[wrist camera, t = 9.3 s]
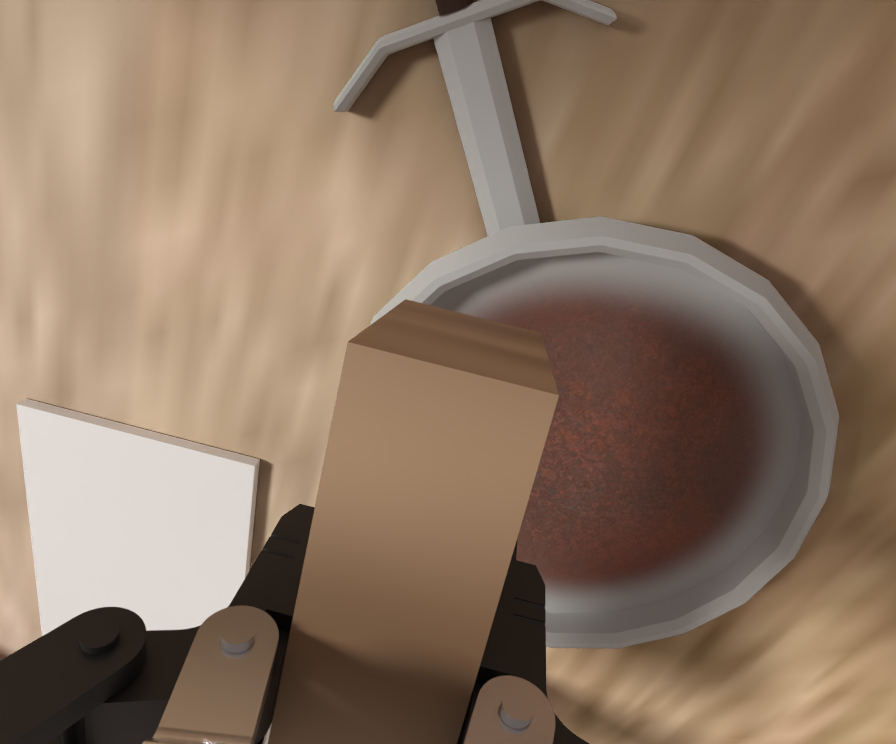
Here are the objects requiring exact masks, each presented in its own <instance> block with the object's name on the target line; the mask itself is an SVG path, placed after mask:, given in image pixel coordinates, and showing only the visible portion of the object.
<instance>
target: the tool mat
mask: <svg viewBox="0 0 896 744" xmlns="http://www.w3.org/2000/svg"><path fill="white" fill-rule="evenodd" d="M16 405H17V414H18V423H19V432H20V441H21V450H22V459H23V468H24V477H25V486H26V495H27V504H28V513H29V522H30V531H31V540H32V549H33V558H34V567H35V577H36V586H37V595H38V604H39V613H40V622H41V631H42V636H44V635H45V634H47V633H49V632H50V631H52V630H54V629H55V628H57V627H59V626H61V625H62V624H64V623H66V622H67V621H69V620H71V619H72V618H74V617H76V616H78V615H80V614H82V613H84V612H87V611H89V610H93V609H96V608H102V607H121V608H125V609H129V610H131V611H133V612H135V613H136V614H137V615H139V616H140V617H141V619H142V620H143V622H144V624H145V627H146V631H150V630H180V629H189V628H194V627H197V626H200V625H202V623H203V622H204V621H205V620H206V619H207V618H208V617H209V616H211V615H212V614H214V613H215V612H217V611H219V610H222V609H225V608H227V607H228V606H229V604H230V603H231V601H232V600H233V598H234V596H235V595H236V593H237V591H238V590H239V588H240V586H241V585H242V583H243V581H244V579H245V578H246V576H247V574H248V573H249V570H250V560H251V549H252V538H253V528H254V517H255V506H256V496H257V485H258V474H259V464H260V459H257V458H253V457H249V456H245V455H242V454H238V453H234V452H230V451H226V450H222V449H218V448H215V447H211V446H207V445H203V444H199V443H195V442H192V441H188V440H184V439H180V438H176V437H172V436H168V435H165V434H161V433H157V432H153V431H149V430H145V429H142V428H138V427H134V426H130V425H126V424H122V423H118V422H115V421H111V420H107V419H103V418H99V417H95V416H92V415H88V414H84V413H80V412H76V411H72V410H68V409H65V408H61V407H57V406H53V405H49V404H45V403H42V402H38V401H34V400H30V399H26V398H25V399H24V400H22V401H21V402H19V403H17V404H16Z"/></svg>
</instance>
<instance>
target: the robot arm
mask: <svg viewBox="0 0 896 744" xmlns="http://www.w3.org/2000/svg"><path fill="white" fill-rule="evenodd" d="M314 509H315V508H314V507H310V506H306V505H302V504H299V505H298V506H296V507H295V508H293V509H292V510H290V511H289V512H288V513H286V514H285V515H283V516H282V517H281V519H280V520H279V522H278V524H277V526H276V527H275V529H274V531H273V532H272V535H271V537H269V539H268V541H267V542H266V544H265V546H264V547H263V551H261V553H260V554H259V556H258V558H257V559H256V561H255V563H254V564H253V566H252V568H251V569H250V571H249V573H248V574H247V576H246V578H245V579H244V581H243V583H242V585H241V586H240V588H239V590H238V591H237V593H236V595H235V596H234V598H233V600H232V601H231V603H230V604H229V606H228V607H227V608H225V609H222V610H219V611H217V612H215V613H214V614H212V615H211V616H209V617H208V618H207V619H206V620H205V621H204V622H203V623H202V625H200V626H197V627H194V628H189V629H180V630H150V631H146V627H145V624H144V622H143V620H142V619H141V617H140V616H139V615H137V614H136V613H135V612H133V611H131V610H129V609H125V608H121V607H102V608H96V609H93V610H89V611H87V612H84V613H82V614H80V615H78V616H76V617H74V618H72V619H71V620H69V621H67V622H66V623H64V624H62V625H61V626H59V627H57V628H55V629H54V630H52V631H50V632H49V633H47V634H45V635H44V636H42V637H40V638H38V639H37V640H35V641H33V642H32V643H30V644H28V645H27V646H25V647H23V648H21V649H20V650H18V651H16V652H15V653H13V654H11V655H10V656H8V657H6V658H4V659H3V660H1V661H0V744H265V741H266V735H267V732H268V730H269V728H270V726H271V723H272V720H273V715H274V710H275V705H276V700H277V695H278V690H279V685H280V680H281V675H282V670H283V665H284V660H285V655H286V649H287V644H288V639H289V634H290V629H291V624H292V619H293V614H294V609H295V604H296V599H297V594H298V589H299V584H300V579H301V574H302V569H303V564H304V559H305V554H306V549H307V544H308V539H309V534H310V529H311V524H312V519H313V514H314ZM516 556H517V541H516V544H515V548H514V551H513V554H512V558H511V561H510V565H509V568H508V571H507V575H506V578H505V582H504V585H503V589H502V592H501V595H500V599H499V602H498V606H497V609H496V612H495V616H494V619H493V623H492V626H491V630H490V633H489V636H488V640H487V643H486V647H485V650H484V653H483V657H482V660H481V664H480V667H479V670H478V674H477V677H476V681H475V684H474V688H473V691H472V694H471V698H470V701H469V705H468V708H467V711H466V715H465V718H464V722H463V725H462V729H461V732H460V735H459V739H458V742H457V744H589V743H588V742H586V741H584V740H583V739H581V738H579V737H578V736H576V735H575V734H573V733H572V732H571V731H570V730H569V729H567V728H566V727H565V726H564V725H563V724H562V722H561V721H560V720H559V719H558V717H557V716H556V715H555V713H554V711H553V708H552V706H551V704H550V702H549V700H548V697H547V692H546V626H545V622H546V609H545V605H546V603H545V583H544V581H543V579H542V577H541V575H540V573H539V571H538V569H537V567H536V565H533V564H529V563H525V562H521V561H517V560H516Z"/></svg>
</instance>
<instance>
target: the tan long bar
mask: <svg viewBox="0 0 896 744" xmlns="http://www.w3.org/2000/svg"><path fill="white" fill-rule="evenodd" d="M558 397H559V393H558V390H557V387H556V383H555V380H554V376H553V373H552V369H551V366H550V362H549V359H548V355H547V352H546V348H545V345H544V341H543V338H542V335H541V333H539V332H535V331H531V330H527V329H523V328H519V327H515V326H511V325H507V324H503V323H499V322H495V321H491V320H487V319H483V318H479V317H475V316H471V315H467V314H463V313H459V312H455V311H451V310H447V309H443V308H439V307H435V306H431V305H427V304H423V303H419V302H415V301H411V300H407V299H405V300H404V301H402V302H401V303H400V304H398V305H397V306H396V307H394V308H393V309H392V310H390V311H389V312H388V313H386V314H385V315H384V316H382V317H381V318H379V319H378V320H377V321H375V322H374V323H373V324H371V325H370V326H369V327H367V328H366V329H365V330H363V331H362V332H361V333H359V334H358V335H357V336H355V337H354V338H352V339H351V340H350V341H348V344H347V349H346V354H345V359H344V364H343V369H342V374H341V379H340V384H339V389H338V394H337V399H336V404H335V409H334V414H333V419H332V424H331V429H330V434H329V439H328V444H327V449H326V454H325V459H324V464H323V469H322V474H321V479H320V484H319V489H318V494H317V499H316V504H315V509H314V514H313V519H312V524H311V529H310V534H309V539H308V544H307V549H306V554H305V559H304V564H303V569H302V574H301V579H300V584H299V589H298V594H297V599H296V604H295V609H294V614H293V619H292V624H291V629H290V634H289V639H288V644H287V649H286V655H285V660H284V665H283V670H282V675H281V680H280V685H279V690H278V695H277V700H276V705H275V710H274V715H273V720H272V723H271V726H270V728H269V730H268V732H267V735H266V741H265V744H457V742H458V739H459V735H460V732H461V729H462V725H463V722H464V718H465V715H466V711H467V708H468V705H469V701H470V698H471V694H472V691H473V688H474V684H475V681H476V677H477V674H478V670H479V667H480V664H481V660H482V657H483V653H484V650H485V647H486V643H487V640H488V636H489V633H490V630H491V626H492V623H493V619H494V616H495V612H496V609H497V606H498V602H499V599H500V595H501V592H502V589H503V585H504V582H505V578H506V575H507V571H508V568H509V565H510V561H511V558H512V554H513V551H514V548H515V544H516V541H517V537H518V534H519V530H520V527H521V524H522V520H523V517H524V513H525V510H526V507H527V503H528V500H529V496H530V493H531V489H532V486H533V483H534V479H535V476H536V472H537V469H538V466H539V462H540V459H541V455H542V452H543V448H544V445H545V442H546V438H547V435H548V431H549V428H550V425H551V421H552V418H553V414H554V411H555V408H556V404H557V401H558Z"/></svg>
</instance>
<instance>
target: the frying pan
mask: <svg viewBox="0 0 896 744" xmlns="http://www.w3.org/2000/svg"><path fill="white" fill-rule="evenodd" d="M537 1H540V0H480V1H477V2H474V1H473V0H436V4H437V7H438V11H439V16H436V17H433V18H430V19H428V20H425V21H422V22H420V23H417V24H414V25H411V26H409V27H406V28H403V29H400V30H398V31H395V32H392V33H390V34H387V35H384V36H382V37H380V38H379V39H378V40H377V41H376V43H375V44H374V45H373V47H372V48H371V50H370V51H369V53H368V54H367V55H366V57H365V58H364V60H363V61H362V63H361V64H360V66H359V67H358V68H357V70H356V71H355V73H354V74H353V76H352V77H351V78H350V80H349V81H348V83H347V84H346V86H345V87H344V88H343V90H342V91H341V93H340V94H339V96H338V97H337V98H336V100H335V102H334V106H333V108H334V111H335V112H346V111H349V109H350V108H351V107H352V105H353V104H354V102H355V101H356V100H357V98H358V97H359V95H360V94H361V93H362V91H363V90H364V88H365V87H366V86H367V84H368V83H369V81H370V80H371V79H372V77H373V76H374V74H375V73H376V72H377V70H378V69H379V67H380V66H381V65H382V63H383V62H384V60H385V59H386V58H387V56H388V55H389V54H392V53H394V52H397V51H400V50H403V49H406V48H408V47H411V46H414V45H417V44H420V43H422V42H425V41H428V40H431V39H434V43H435V47H436V50H437V54H438V58H439V61H440V65H441V68H442V72H443V76H444V79H445V83H446V87H447V90H448V94H449V97H450V101H451V105H452V108H453V112H454V116H455V119H456V123H457V126H458V130H459V134H460V137H461V141H462V145H463V148H464V152H465V155H466V159H467V163H468V166H469V170H470V174H471V177H472V181H473V184H474V188H475V192H476V195H477V199H478V203H479V206H480V210H481V213H482V217H483V221H484V224H485V228H486V232H487V235H488V237H485V238H483V239H481V240H479V241H477V242H474V243H472V244H470V245H468V246H465V247H463V248H461V249H459V250H456V251H454V252H452V253H450V254H448V255H445V256H443V257H441V258H439V259H436V260H434V261H432V262H431V263H430V264H428V265H427V266H426V267H425V268H424V269H423V270H422V271H421V272H420V273H419V274H418V275H417V276H416V277H415V278H414V279H413V280H412V281H410V282H409V283H408V284H407V285H406V286H405V287H404V288H403V289H402V290H401V291H400V292H399V293H398V294H397V295H396V296H395V297H394V298H392V299H391V300H390V301H389V302H388V303H387V304H386V305H385V306H384V307H383V308H382V309H381V310H380V311H379V312H378V313H377V314H376V315H375V316H374V318H373V320H372V321H371V323H370V325H371V324H373V323H374V322H375V321H377V320H378V319H379V318H381V317H382V316H384V315H385V314H386V313H388V312H389V311H390V310H392V309H393V308H394V307H396V306H397V305H398V304H400V303H401V302H402V301H404V300H405V299H407V300H411V301H415V302H419V303H423V304H427V305H431V306H435V307H439V308H443V309H447V310H451V311H455V312H459V313H463V314H467V315H471V316H475V317H479V318H483V319H487V320H491V321H495V322H499V323H503V324H507V325H511V326H515V327H519V328H523V329H527V330H531V331H535V332H539V333H541V335H542V338H543V341H544V345H545V348H546V352H547V355H548V359H549V362H550V366H551V369H552V373H553V376H554V380H555V383H556V387H557V390H558V393H559V397H558V401H557V404H556V408H555V411H554V414H553V418H552V421H551V425H550V428H549V431H548V435H547V438H546V442H545V445H544V448H543V452H542V455H541V459H540V462H539V466H538V469H537V472H536V476H535V479H534V483H533V486H532V489H531V493H530V496H529V500H528V503H527V507H526V510H525V513H524V517H523V520H522V524H521V527H520V530H519V534H518V537H517V556H516V560H517V561H521V562H525V563H529V564H533V565H536V567H537V569H538V571H539V573H540V575H541V577H542V579H543V581H544V583H545V603H546V605H545V609H546V622H545V626H546V647H550V648H622V647H627V646H631V645H636V644H641V643H645V642H650V641H654V640H659V639H663V638H668V637H672V636H677V635H681V634H685V633H687V632H689V631H691V630H693V629H695V628H697V627H699V626H701V625H703V624H705V623H707V622H709V621H711V620H713V619H715V618H717V617H719V616H721V615H723V614H725V613H727V612H729V611H731V610H733V609H735V608H737V607H739V606H741V605H743V604H745V603H746V602H747V601H748V600H749V599H750V598H751V597H752V596H753V595H754V594H756V593H757V592H758V591H759V590H760V589H761V588H762V587H763V586H764V585H765V584H766V583H768V582H769V581H770V580H771V579H772V578H773V577H774V576H775V575H776V574H777V573H778V572H780V571H781V570H782V569H783V568H784V567H785V566H786V565H787V564H788V563H789V562H790V561H792V560H793V559H794V558H795V556H796V554H797V552H798V551H799V549H800V547H801V545H802V543H803V541H804V540H805V538H806V536H807V534H808V532H809V531H810V529H811V527H812V525H813V523H814V521H815V520H816V518H817V516H818V514H819V512H820V511H821V509H822V507H823V505H824V503H825V501H826V500H827V497H828V493H829V490H830V486H831V478H832V470H833V462H834V455H835V447H836V439H837V431H838V424H839V412H838V409H837V405H836V402H835V398H834V395H833V391H832V387H831V384H830V380H829V377H828V373H827V370H826V366H825V363H824V359H823V355H822V352H821V348H820V345H819V343H818V342H817V340H816V339H815V338H814V337H813V335H812V334H811V333H810V332H809V330H808V329H807V328H806V327H805V325H804V324H803V323H802V322H801V320H800V319H799V318H798V317H797V315H796V314H795V313H794V312H793V310H792V309H791V308H790V307H789V305H788V304H787V303H786V301H785V300H784V299H783V298H782V296H781V295H780V294H779V293H778V291H777V290H776V289H775V288H774V286H773V285H772V284H771V283H770V281H769V280H767V279H766V278H764V277H762V276H761V275H759V274H757V273H756V272H754V271H752V270H751V269H749V268H747V267H745V266H744V265H742V264H740V263H739V262H737V261H735V260H734V259H732V258H730V257H729V256H727V255H725V254H723V253H722V252H720V251H718V250H717V249H715V248H713V247H712V246H710V245H708V244H707V243H705V242H703V241H701V240H700V239H698V238H696V237H695V236H693V235H690V234H685V233H680V232H675V231H670V230H665V229H660V228H656V227H651V226H646V225H641V224H636V223H631V222H626V221H621V220H617V219H612V218H607V217H602V216H600V217H591V218H582V219H573V220H564V221H555V222H546V223H540V220H539V216H538V212H537V208H536V203H535V199H534V195H533V191H532V187H531V183H530V179H529V175H528V170H527V166H526V162H525V158H524V154H523V150H522V146H521V141H520V137H519V133H518V129H517V125H516V121H515V117H514V113H513V108H512V104H511V100H510V96H509V92H508V88H507V84H506V79H505V75H504V71H503V67H502V63H501V59H500V55H499V51H498V46H497V42H496V38H495V34H494V30H493V26H492V22H491V18H492V17H495V16H498V15H501V14H503V13H506V12H509V11H512V10H515V9H517V8H520V7H523V6H526V5H529V4H531V3H534V2H537ZM542 1H545V2H547V3H550V4H552V5H555V6H557V7H560V8H562V9H565V10H568V11H570V12H573V13H575V14H578V15H580V16H583V17H585V18H588V19H590V20H593V21H596V22H598V23H601V24H603V25H606V26H608V25H609V24H611V23H612V22H613V21H615V20H616V19H617V17H616V14H615V12H614V11H613V10H612V9H611V8H608V7H606V6H603V5H600V4H598V3H595V2H593V1H590V0H542ZM370 325H369V326H370Z"/></svg>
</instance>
